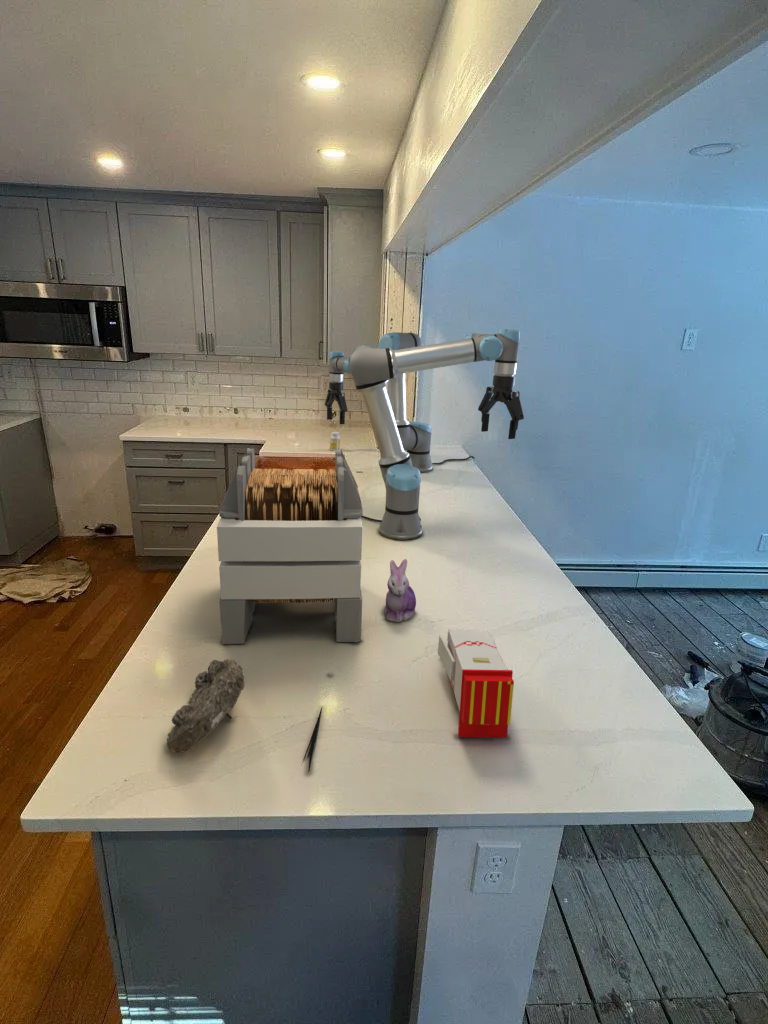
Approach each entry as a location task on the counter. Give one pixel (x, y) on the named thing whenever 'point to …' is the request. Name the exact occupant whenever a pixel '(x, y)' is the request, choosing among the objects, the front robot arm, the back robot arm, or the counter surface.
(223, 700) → the fossil
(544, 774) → the counter surface
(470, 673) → the toy
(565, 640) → the counter surface
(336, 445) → the supplement bottle
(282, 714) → the counter surface
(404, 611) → the figurine
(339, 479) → the transformer
